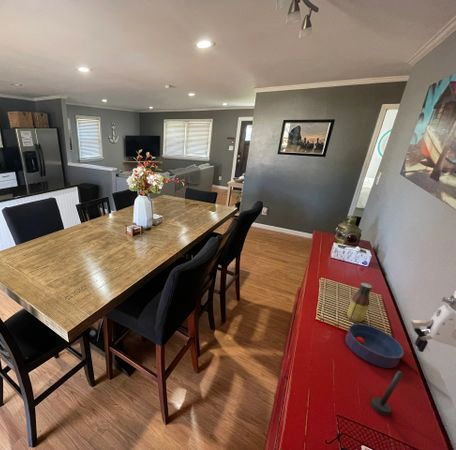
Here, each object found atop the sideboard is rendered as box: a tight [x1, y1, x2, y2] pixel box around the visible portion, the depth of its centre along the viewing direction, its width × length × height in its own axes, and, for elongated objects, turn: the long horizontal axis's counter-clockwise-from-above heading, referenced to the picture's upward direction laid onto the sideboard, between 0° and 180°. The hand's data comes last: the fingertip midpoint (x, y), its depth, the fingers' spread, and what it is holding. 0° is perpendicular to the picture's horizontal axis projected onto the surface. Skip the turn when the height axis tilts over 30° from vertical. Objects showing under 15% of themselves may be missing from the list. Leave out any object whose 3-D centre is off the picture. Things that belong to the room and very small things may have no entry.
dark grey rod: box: [370, 370, 404, 417], centre depth 76 cm, size 5×5×17 cm
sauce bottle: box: [346, 282, 373, 323], centre depth 113 cm, size 7×6×20 cm
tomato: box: [356, 337, 365, 345], centre depth 102 cm, size 3×3×3 cm
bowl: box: [344, 323, 405, 369], centre depth 99 cm, size 17×17×6 cm
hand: (442, 356), depth 68 cm, fingers open, 9 cm apart
